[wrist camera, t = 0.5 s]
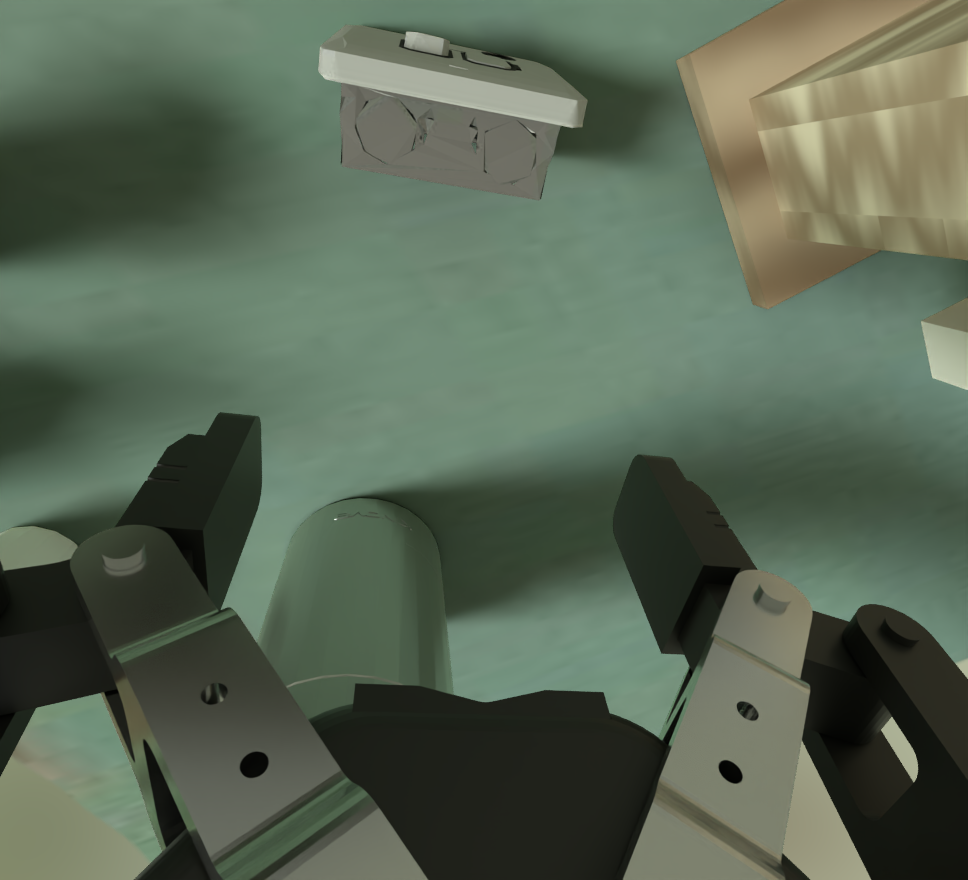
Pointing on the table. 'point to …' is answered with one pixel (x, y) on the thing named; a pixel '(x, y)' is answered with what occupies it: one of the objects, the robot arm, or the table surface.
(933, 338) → the lower knob
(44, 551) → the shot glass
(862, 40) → the knob post
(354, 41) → the electrical switch
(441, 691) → the robot arm
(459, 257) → the table surface
